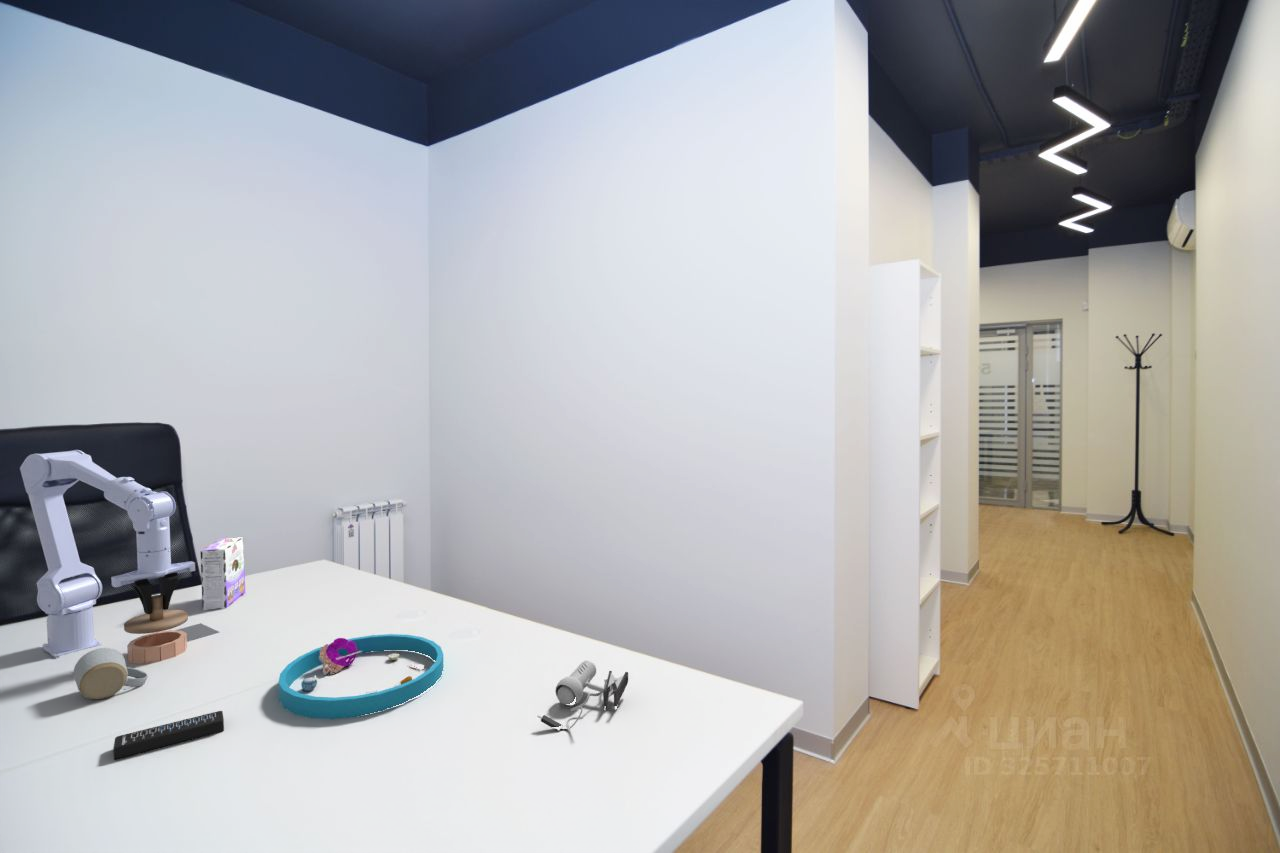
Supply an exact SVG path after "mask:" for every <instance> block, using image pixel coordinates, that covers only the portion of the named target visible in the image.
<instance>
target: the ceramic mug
mask: <svg viewBox="0 0 1280 853" xmlns="http://www.w3.org/2000/svg"><path fill="white" fill-rule="evenodd" d="M73 678H74V682H75V684H76V686H77V690H78V691H79V693H80V694H81V695H82V696H83V697H85V698H86V699H90V700H103V699H106V698H110V697H112V696H114V695H115V694H117V693H118V692H119V691H120V690H122V688H123V687H140V686H143V685H144V684H145V683H146V682H147V679H148V678H149V677H148V673H146V672H145V671H143V670H140V669H137V668H134V667H127V663H126V660H125V657H124V655H123V654H122V652H120V651H119V650H117V649H114V648H110V647H100V648H96V649H93V650H91V651H90V650H89V651H87V653H85V654H84V655H82V656H81V657H80V658H79V659H78V660H77V662H76V663H75V665H74V668H73Z"/></svg>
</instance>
